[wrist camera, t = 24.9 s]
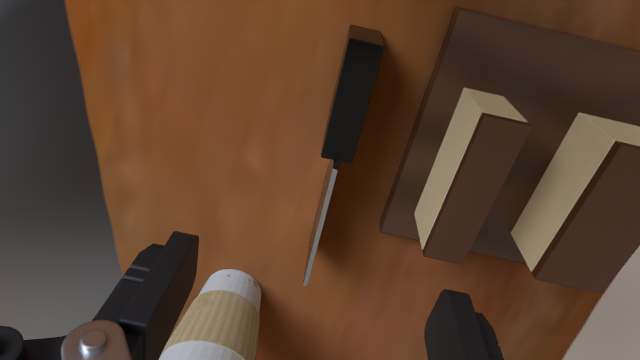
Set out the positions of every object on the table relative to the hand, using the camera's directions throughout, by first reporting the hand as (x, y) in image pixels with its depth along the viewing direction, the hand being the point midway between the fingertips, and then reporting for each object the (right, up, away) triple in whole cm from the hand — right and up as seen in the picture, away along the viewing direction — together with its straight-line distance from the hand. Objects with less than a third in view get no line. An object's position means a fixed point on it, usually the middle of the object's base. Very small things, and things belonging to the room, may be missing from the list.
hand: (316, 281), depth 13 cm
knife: (+1, +6, +23) cm, 24 cm away
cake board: (+17, +6, +22) cm, 28 cm away
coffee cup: (-9, -9, +33) cm, 35 cm away
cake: (+21, +3, +21) cm, 31 cm away
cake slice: (+11, +5, +21) cm, 25 cm away
